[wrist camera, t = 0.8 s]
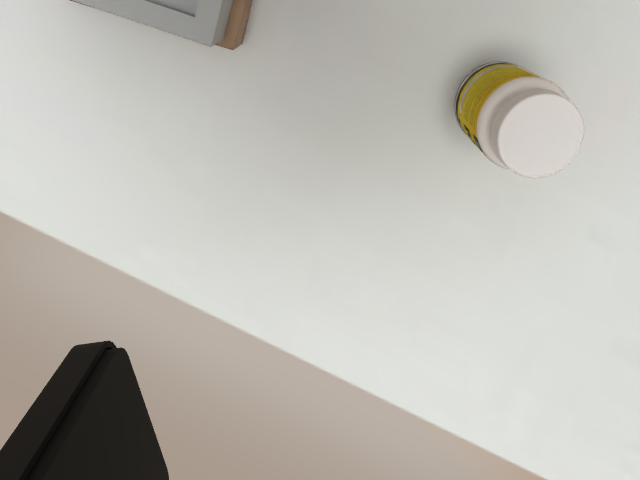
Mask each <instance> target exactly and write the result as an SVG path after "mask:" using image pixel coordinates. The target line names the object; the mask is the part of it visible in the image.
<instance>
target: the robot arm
mask: <svg viewBox="0 0 640 480" xmlns="http://www.w3.org/2000/svg"><path fill="white" fill-rule="evenodd" d="M0 480H169V475H168V470H167V467H166V464H165V461H164V458H163V455H162V452H161V449H160V446H159V443H158V441H157V438H156V435H155V432H154V429H153V426H152V423H151V420H150V417H149V415H148V411H147V409H146V406H145V403H144V400H143V397H142V394H141V391H140V388H139V385H138V382H137V379H136V376H135V374H134V371H133V368H132V365H131V362H130V359H129V356H128V354H127V352H126V350H125V349H123V348H116V346H115V345H114V343H113V342H111V341H104V342H96V343H89V344H81V345H76V346H74V347H73V348H72V349H71V351H70V352H69V353H68V355H67V356H66V357H65V359H64V360H63V362H62V363H61V365H60V366H59V368H58V369H57V370H56V372H55V373H54V375H53V376H52V378H51V379H50V380H49V382H48V383H47V385H46V386H45V387H44V389H43V390H42V392H41V393H40V395H39V396H38V397H37V399H36V400H35V402H34V403H33V405H32V406H31V407H30V409H29V410H28V412H27V413H26V415H25V416H24V418H23V419H22V420H21V422H20V423H19V425H18V426H17V428H16V429H15V430H14V432H13V433H12V435H11V436H10V438H9V439H8V440H7V442H6V443H5V445H4V446H3V448H2V449H1V450H0Z"/></svg>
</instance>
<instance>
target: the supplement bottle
mask: <svg viewBox="0 0 640 480" xmlns="http://www.w3.org/2000/svg"><path fill="white" fill-rule="evenodd" d="M455 113H456V118H457V121H458V123H459V125H460V127H461V128H462V130H463V131H464V132H465V134H466V135H467V136H468V137H469V138H470V139H471V140H472V141H473V143H474V144H476V146H477V147H478V148H479V149H480V150H481V151H482V152H483V153H484V155H485V156H486V157H487V158H488V159H490V160H491V161H492V162H493V163H495V164H496V165H498V166H500V167H502V168H505V169H509V170H511V171H513V172H515V173H516V174H518V175H521V176H524V177H530V178H540V177H545V176H549V175H552V174H554V173H556V172H558V171H560V170H561V169H563V168H564V167H565V166H567V165H568V164H569V163H570V162H571V161H572V160H573V158H574V157H575V155H576V154H577V152H578V151H579V148H580V146H581V143H582V140H583V135H584V125H583V120H582V117H581V114H580V112H579V111H578V109H577V108H576V106H575V105H574V104H573V103H572V102H571V101H570V100H569V98H568V97H567V95H566V94H565V92H564V91H563V90H562V89H561V88H560V87H559V86H557V85H556V84H555V83H553V82H551V81H549V80H546V79H544V78H542V77H540V76H538V75H535V74H533V73H531V72H529V71H527V70H525V69H523V68H521V67H519V66H516V65H514V64H510V63H505V62H495V63H489V64H486V65H483V66H481V67H479V68H477V69H476V70H474V71H473V72H472V73H471V74H470V75H469V76H468V77H467V78H466V79H465V80H464V82H463V83H462V85H461V86H460V88H459V91H458V93H457V96H456V101H455Z"/></svg>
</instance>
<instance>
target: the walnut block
mask: <svg viewBox="0 0 640 480" xmlns="http://www.w3.org/2000/svg"><path fill="white" fill-rule="evenodd" d="M71 1H73V0H71ZM74 2H76V1H74ZM77 3H79V2H77ZM80 4H82V3H80ZM251 4H252V0H233V3H232V7H231V11H230V15H229V19H228V23H227V27H226V31H225V35H224V39H223V40H222V41H221V42H219V43H217V44H215V45H218V46H221V47H224V48H228V49H231V50H234V49H235V48H237V47H238V46H239V45H241V44H242V42H243V38H244V33H245V29H246V25H247V21H248V16H249V12H250V8H251ZM84 5H85V4H84ZM87 6H88V5H87ZM90 7H91V6H90ZM93 8H94V7H93Z"/></svg>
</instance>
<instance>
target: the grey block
mask: <svg viewBox="0 0 640 480" xmlns="http://www.w3.org/2000/svg"><path fill="white" fill-rule="evenodd" d="M73 1H76V2H79V3H82V4H85V5H88V6H91V7H94V8H97V9H100V10H103V11H106V12H109V13H112V14H115V15H118V16H121V17H124V18H127V19H130V20H133V21H136V22H139V23H142V24H145V25H148V26H151V27H154V28H157V29H160V30H163V31H165V32H168V33H171V34H174V35H177V36H180V37H183V38H186V39H189V40H192V41H195V42H198V43H201V44H204V45H207V46H210V47H211V46H213V45H215V44H217V43H219V42H221V41H222V40H223V39H224V35H225V31H226V27H227V23H228V19H229V15H230V11H231V7H232V3H233V0H73Z"/></svg>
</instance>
